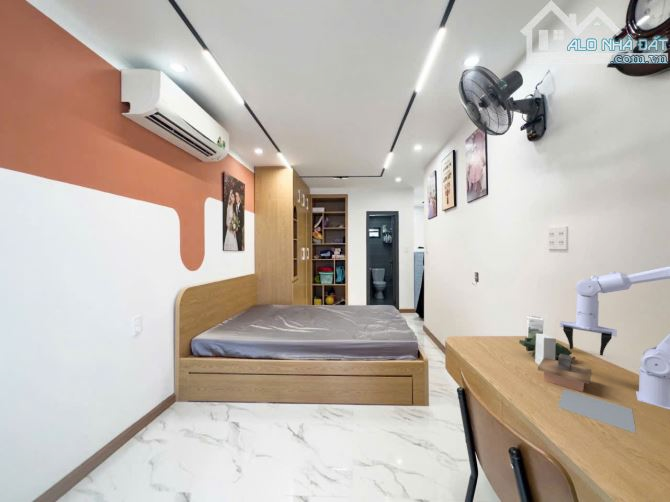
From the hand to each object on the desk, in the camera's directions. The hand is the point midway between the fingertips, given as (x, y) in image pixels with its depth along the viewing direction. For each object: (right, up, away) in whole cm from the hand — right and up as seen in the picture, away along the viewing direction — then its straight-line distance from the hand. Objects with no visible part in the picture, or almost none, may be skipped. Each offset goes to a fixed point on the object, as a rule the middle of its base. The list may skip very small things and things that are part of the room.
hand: (585, 351), depth 94 cm
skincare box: (-5, -11, +12) cm, 17 cm away
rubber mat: (-14, -10, -18) cm, 25 cm away
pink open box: (-9, -10, -1) cm, 13 cm away
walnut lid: (-9, -6, -2) cm, 11 cm away
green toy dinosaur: (+2, -11, +20) cm, 23 cm away
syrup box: (+6, -11, +33) cm, 35 cm away
